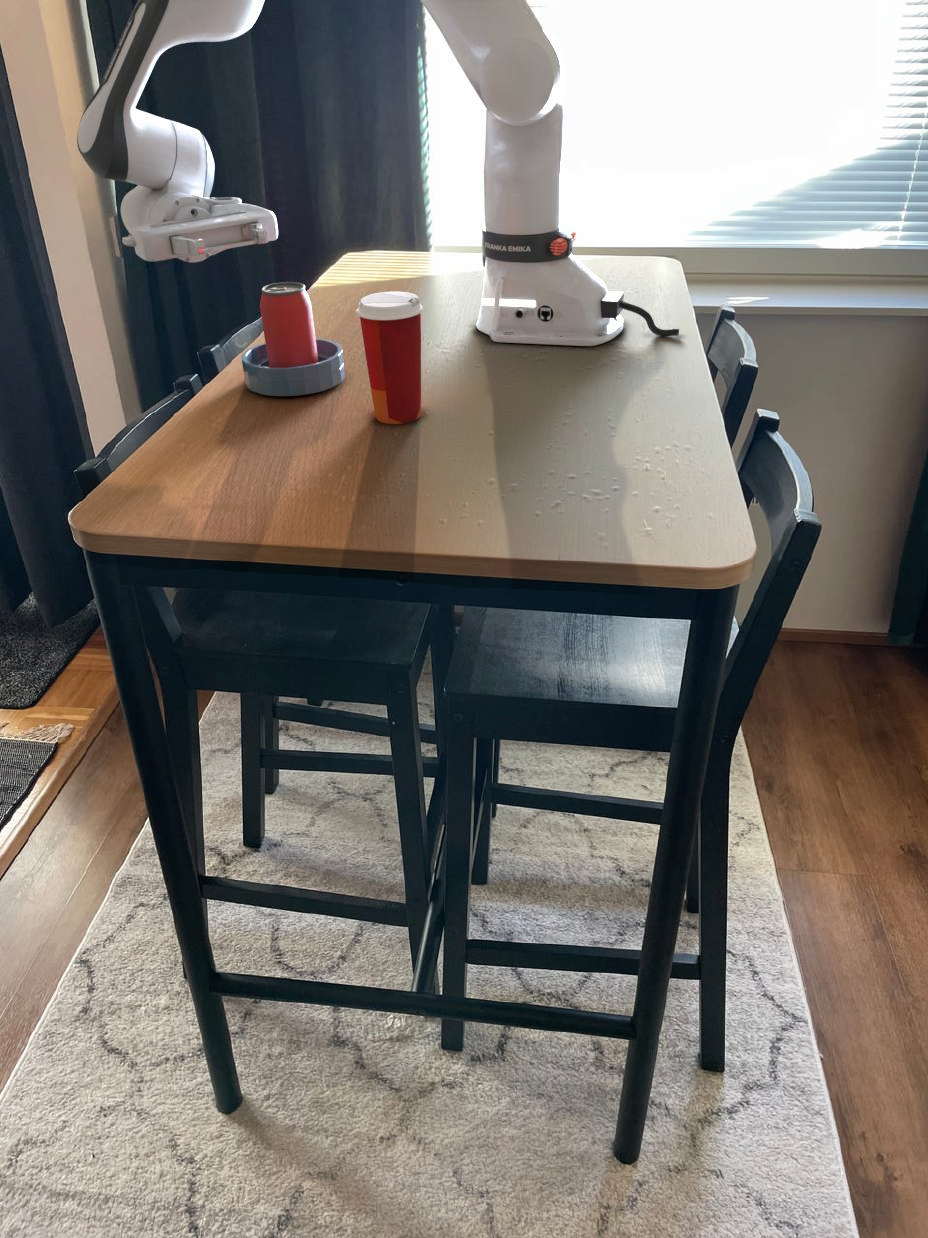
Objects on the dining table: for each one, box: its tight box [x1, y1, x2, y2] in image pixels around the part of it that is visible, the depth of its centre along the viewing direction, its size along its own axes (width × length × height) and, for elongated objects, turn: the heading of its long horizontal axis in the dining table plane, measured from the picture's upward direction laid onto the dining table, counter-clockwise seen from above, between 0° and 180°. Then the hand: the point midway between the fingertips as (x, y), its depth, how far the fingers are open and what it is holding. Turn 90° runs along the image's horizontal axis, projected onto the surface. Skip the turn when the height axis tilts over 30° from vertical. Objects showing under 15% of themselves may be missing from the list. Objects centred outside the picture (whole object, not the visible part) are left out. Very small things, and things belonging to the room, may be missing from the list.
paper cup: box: [355, 290, 424, 425], centre depth 109 cm, size 8×8×14 cm
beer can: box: [259, 281, 318, 368], centre depth 121 cm, size 7×7×12 cm
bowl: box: [241, 337, 346, 397], centre depth 124 cm, size 13×13×4 cm
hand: (232, 242), depth 124 cm, fingers open, 8 cm apart
